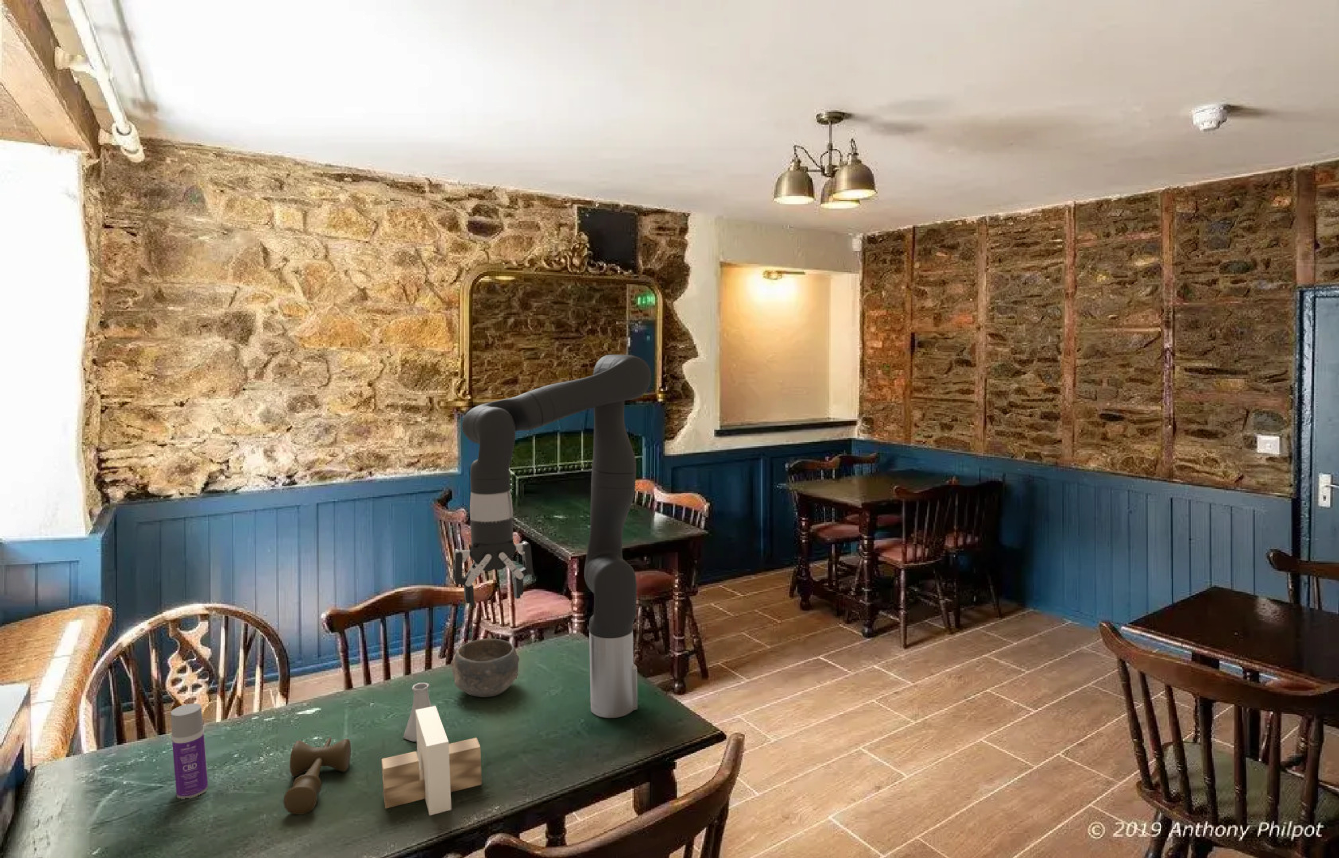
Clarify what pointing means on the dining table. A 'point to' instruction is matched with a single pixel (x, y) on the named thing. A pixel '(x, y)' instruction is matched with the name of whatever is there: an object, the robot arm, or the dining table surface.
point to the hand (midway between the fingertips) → (494, 601)
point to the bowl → (485, 667)
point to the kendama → (313, 772)
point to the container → (189, 751)
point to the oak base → (408, 780)
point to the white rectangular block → (433, 759)
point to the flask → (419, 702)
